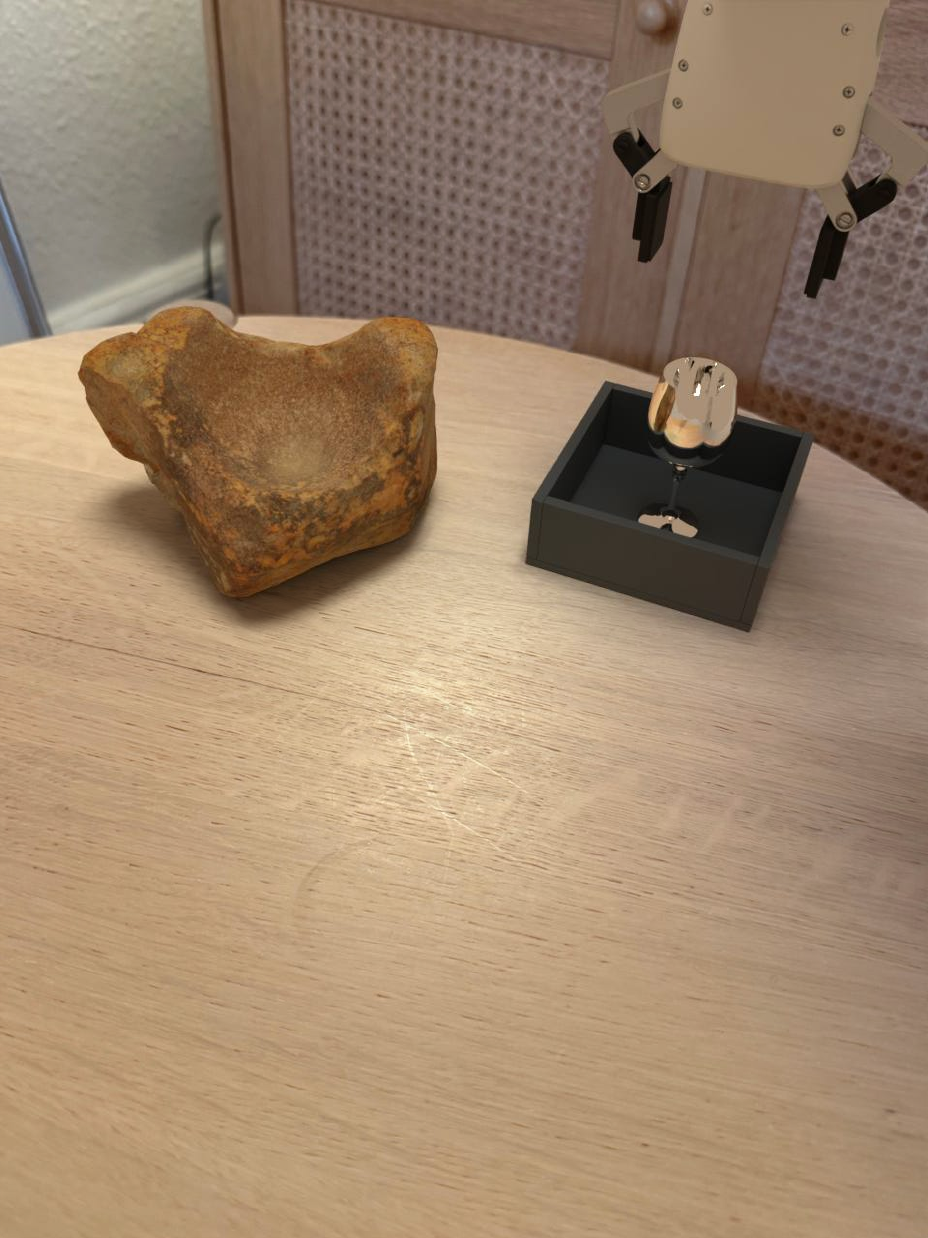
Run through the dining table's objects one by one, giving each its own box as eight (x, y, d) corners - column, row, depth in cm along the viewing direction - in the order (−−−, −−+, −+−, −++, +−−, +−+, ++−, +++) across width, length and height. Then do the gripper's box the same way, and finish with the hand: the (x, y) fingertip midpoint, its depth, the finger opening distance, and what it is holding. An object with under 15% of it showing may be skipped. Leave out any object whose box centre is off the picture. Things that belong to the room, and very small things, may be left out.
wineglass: (678, 561, 74) (713, 413, 65) (611, 523, 76) (636, 376, 68) (724, 522, 77) (763, 377, 68) (658, 487, 80) (688, 342, 71)
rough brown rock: (93, 645, 68) (42, 467, 57) (112, 468, 79) (72, 287, 67) (457, 625, 72) (478, 453, 60) (428, 458, 82) (441, 285, 71)
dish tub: (795, 496, 80) (815, 433, 76) (749, 632, 70) (769, 568, 66) (596, 441, 84) (605, 379, 80) (525, 563, 74) (531, 498, 70)
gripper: (1000, -68, 51) (891, 274, 63) (646, -109, 56) (607, 216, 67) (990, -31, 46) (873, 332, 58) (602, -80, 51) (567, 266, 62)
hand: (730, 270), depth 63 cm, fingers open, 9 cm apart
